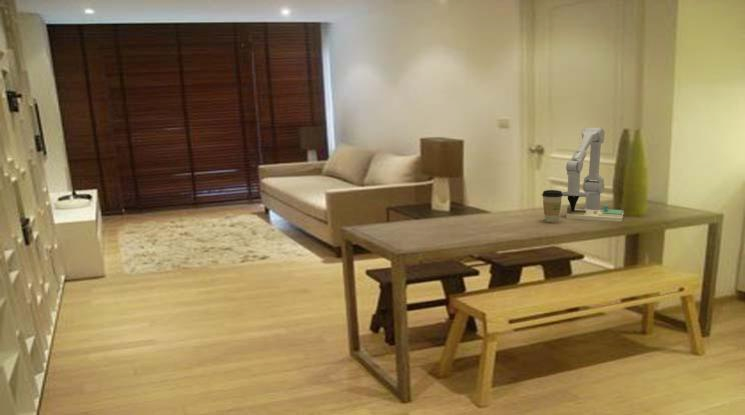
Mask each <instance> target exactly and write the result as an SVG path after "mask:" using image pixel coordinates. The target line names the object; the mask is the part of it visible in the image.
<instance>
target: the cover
mask: <svg viewBox="0 0 745 415" xmlns="http://www.w3.org/2000/svg"><path fill="white" fill-rule="evenodd" d="M602 210H603V211H602V214H613V215H622V211H623V209H609V204H604V205H603V209H602Z"/></svg>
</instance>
